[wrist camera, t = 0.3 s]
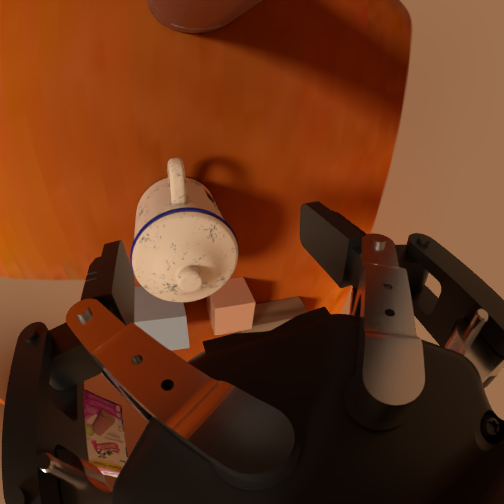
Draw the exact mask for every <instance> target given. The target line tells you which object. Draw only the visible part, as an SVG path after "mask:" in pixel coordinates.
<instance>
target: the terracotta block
mask: <svg viewBox="0 0 504 504" xmlns="http://www.w3.org/2000/svg"><path fill="white" fill-rule="evenodd" d="M254 309H255V300H254V298H253V296H252V294H251V292H250V290H249V288H248V286H247V284H246V282H245V279H244V277H241V278H233V279H229V280H228V281H227V282H226V283H225V284H224V285H223V286H222V287H221V288H220V289H219V290H217V291H216V292H215V293H213V294H211V295H209V296H207V311H208V315H209V318H210V322H211V325H212V328H213V331H214V335H221V334H226V333H232V332H238V331H243V330H249V329H252V323H253V316H254Z"/></svg>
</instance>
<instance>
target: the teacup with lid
mask: <svg viewBox="0 0 504 504" xmlns="http://www.w3.org/2000/svg"><path fill="white" fill-rule="evenodd" d="M238 252H239V250H238V241H237V238H236V235H235V233H234V231H233V229H232V228H231V227H230V225H229V224H228V223H227V222H226V221H225V220H224V218H223V216H222V214H221V212H220V210H219V208H218V206H217V204H216V202H215V200H214V198H213V197H212V195H211V193H210V192H209V190H208V189H207V188H206V187H205V186H204V185H202V184H201V183H199V182H198V181H196V180H194V179H191V178H187V177H185V168H184V163H183V161H182V159H180V158H172V159H170V160H169V161H168V178H166V179H163V180H161V181H158V182H157V183H155V184H153V185H152V186H151V187H150V188H149V189H147V191H146V192H145V193H144V194H143V196H142V197H141V199H140V201H139V204H138V207H137V213H136V224H135V237H134V242H133V245H132V248H131V256H130V258H131V266H132V270H133V272H134V275H135V276H136V278H137V280H138V282H139V283H140V284H141V285H142V287H143V288H144V289H146V290H147V291H148V292H149V293H151V294H152V295H154V296H156V297H158V298H160V299H163V300H166V301H171V302H191V301H196V300H200V299H202V298H205V297H207V296H209V295H211V294H213V293H215V292H216V291H217V290H219V289H220V288H221V287H222V286H223V285H224V284H225V283H226V282H227V281H228V280H229V279H230V277H231V276H232V274H233V272H234V270H235V267H236V264H237V261H238Z"/></svg>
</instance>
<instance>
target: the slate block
mask: <svg viewBox="0 0 504 504" xmlns="http://www.w3.org/2000/svg"><path fill="white" fill-rule="evenodd" d="M134 324H136V325H137V326H138V327H140V328H141V329H142V330H143V331H145V332H146V333H147V334H149V335H150V336H151V337H153V338H154V339H155V340H157V341H158V342H159V343H161V344H162V345H163V346H165V347H166V348H168V349H169V350H177V349H185V348H190V347H189V338H188V329H187V319H186V313H185V308H184V303H183V302H171V301H166V300H163V299H160V298H158V297H156V296H154V295H152V294H151V293H149V292H148V291H147V290H146V289H144V288H143V287H142V286H140V287H135V297H134Z"/></svg>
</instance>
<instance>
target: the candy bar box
mask: <svg viewBox="0 0 504 504" xmlns="http://www.w3.org/2000/svg"><path fill="white" fill-rule="evenodd" d="M84 412H85V428H86V439H87V449H88V457H89V462H90V463H92V464H93V465H95V466H96V467H97V468H98V469H99V470H100V471H101V473H102V474H104V475H108V476H114V477H118V475H119V473H120V471H121V470H122V468H123V466H124V464H125V463H126V461H127V459H128V456H127V450H126V443H125V435H124V428H123V419H122V408H121V405H119V404H116V403H114V402H111V401H109V400H107V399H104V398H102V397H100V396H98V395H95V394H93V393H91V392H89V391H87V390H85V389H84Z"/></svg>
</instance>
